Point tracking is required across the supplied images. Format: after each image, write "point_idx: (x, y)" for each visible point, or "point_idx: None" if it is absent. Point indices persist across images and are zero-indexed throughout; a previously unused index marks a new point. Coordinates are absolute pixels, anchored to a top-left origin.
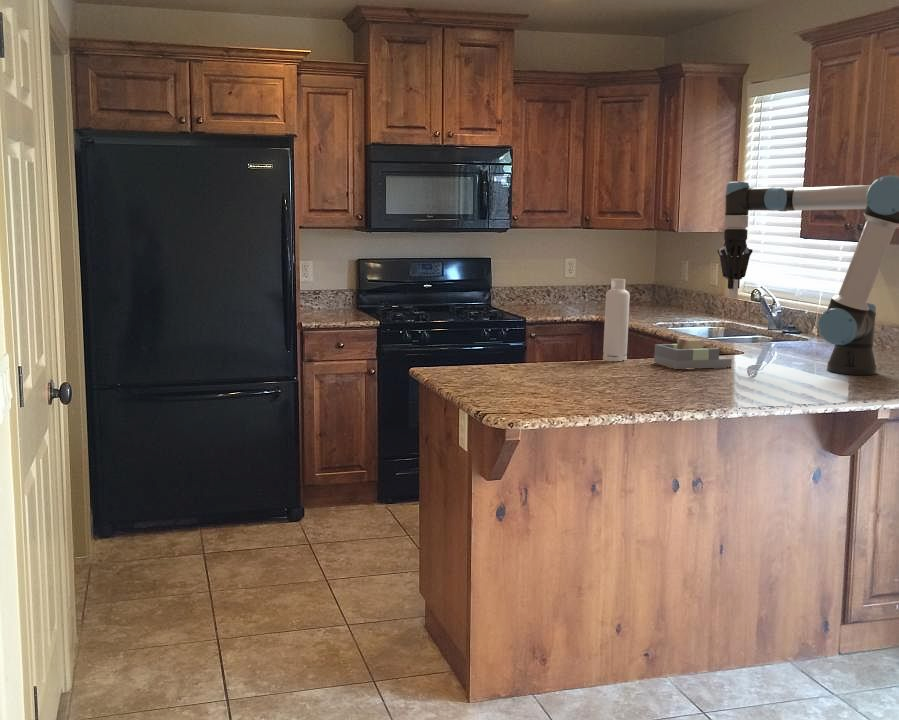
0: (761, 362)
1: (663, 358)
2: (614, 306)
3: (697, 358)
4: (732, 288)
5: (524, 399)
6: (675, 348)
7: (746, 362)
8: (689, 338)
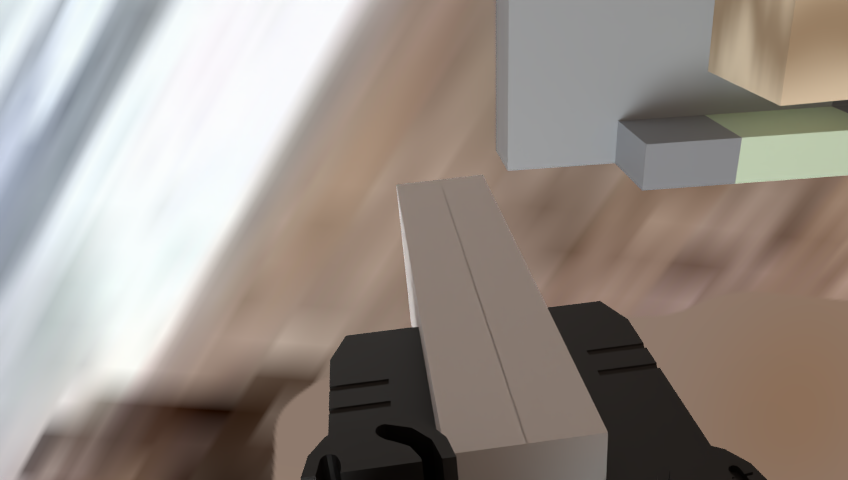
0: (88, 57)
1: None
2: None
3: None
4: (550, 310)
5: None
6: (843, 120)
7: (214, 74)
8: (842, 66)
